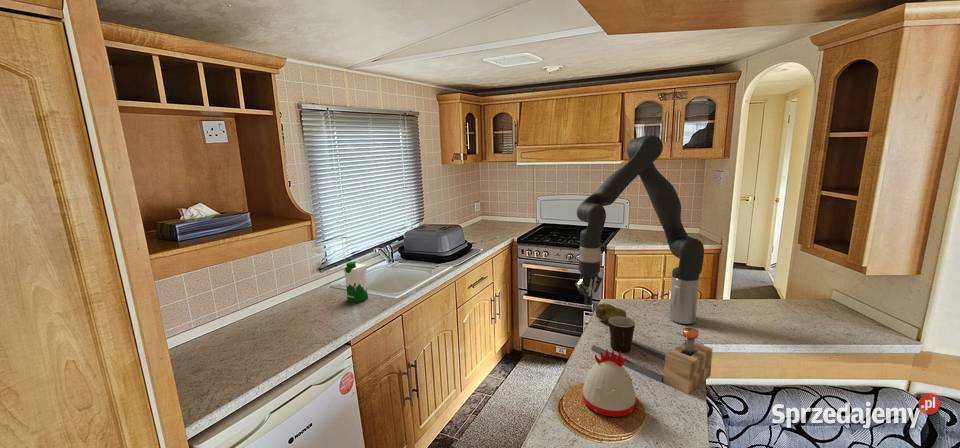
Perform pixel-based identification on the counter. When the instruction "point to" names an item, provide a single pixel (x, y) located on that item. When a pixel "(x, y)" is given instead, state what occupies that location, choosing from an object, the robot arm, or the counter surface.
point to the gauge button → (690, 340)
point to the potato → (608, 312)
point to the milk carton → (356, 282)
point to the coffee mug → (621, 333)
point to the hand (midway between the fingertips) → (588, 304)
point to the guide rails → (634, 365)
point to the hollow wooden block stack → (687, 367)
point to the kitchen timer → (609, 387)
